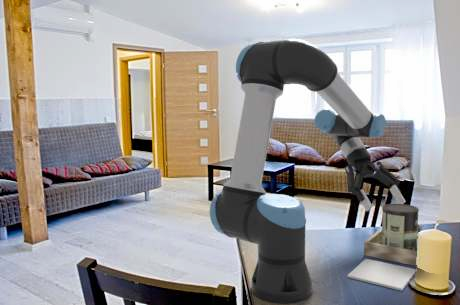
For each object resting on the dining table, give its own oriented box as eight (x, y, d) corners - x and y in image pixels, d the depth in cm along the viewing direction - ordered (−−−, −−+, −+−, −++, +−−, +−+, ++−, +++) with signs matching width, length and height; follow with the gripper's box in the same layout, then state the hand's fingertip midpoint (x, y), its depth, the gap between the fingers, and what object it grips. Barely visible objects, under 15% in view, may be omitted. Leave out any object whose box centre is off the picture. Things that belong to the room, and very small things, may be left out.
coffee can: (412, 247, 135) (414, 203, 133) (420, 259, 125) (422, 212, 123) (378, 245, 137) (379, 202, 135) (383, 257, 127) (384, 211, 125)
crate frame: (363, 254, 130) (364, 242, 129) (380, 239, 142) (380, 228, 142) (420, 266, 120) (420, 253, 120) (432, 249, 133) (433, 237, 132)
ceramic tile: (347, 277, 114) (347, 275, 114) (365, 260, 125) (365, 258, 125) (402, 290, 106) (402, 288, 106) (416, 271, 117) (416, 269, 117)
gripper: (378, 157, 155) (408, 207, 144) (321, 163, 145) (349, 217, 134) (389, 144, 150) (422, 195, 138) (331, 149, 140) (361, 205, 128)
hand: (386, 206), depth 136 cm, fingers open, 13 cm apart
